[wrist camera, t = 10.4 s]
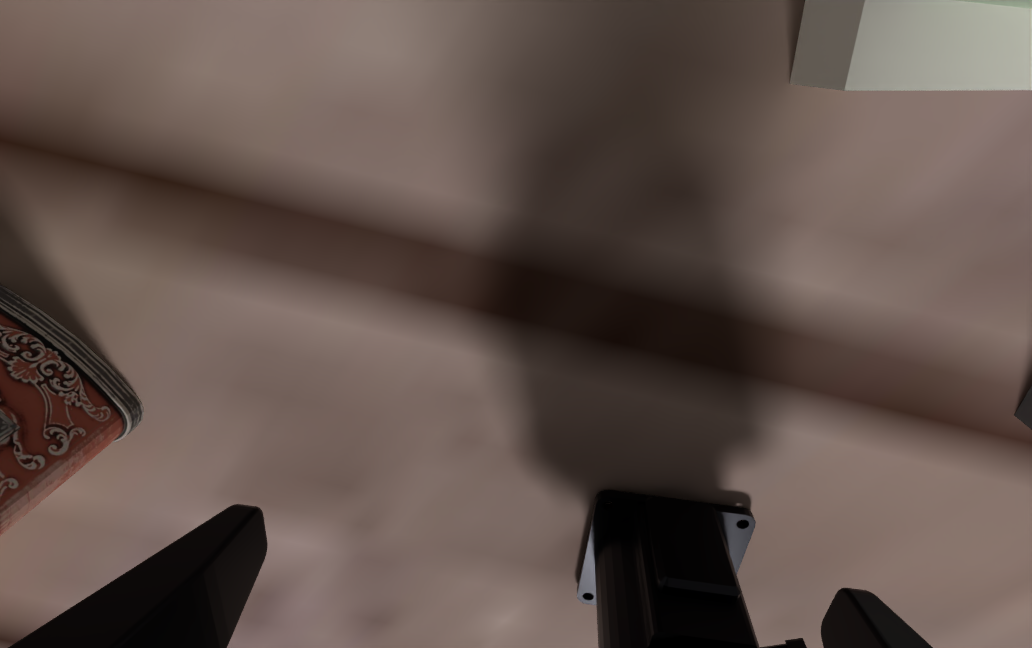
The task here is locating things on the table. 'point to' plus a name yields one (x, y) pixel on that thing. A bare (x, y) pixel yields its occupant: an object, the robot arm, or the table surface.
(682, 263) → the table surface
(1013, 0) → the sage block
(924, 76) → the base block
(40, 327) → the lighter
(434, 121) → the table surface
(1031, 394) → the charcoal block
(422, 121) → the table surface
